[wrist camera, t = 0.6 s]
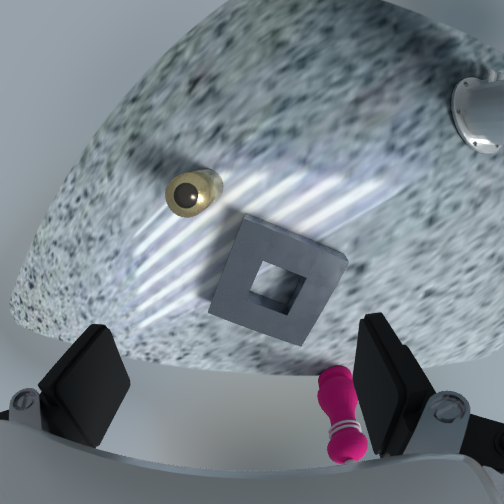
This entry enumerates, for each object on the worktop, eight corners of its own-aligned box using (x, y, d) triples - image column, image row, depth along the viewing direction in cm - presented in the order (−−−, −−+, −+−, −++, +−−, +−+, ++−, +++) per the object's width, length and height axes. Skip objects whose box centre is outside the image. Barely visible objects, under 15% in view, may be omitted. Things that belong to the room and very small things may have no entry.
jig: (246, 213, 39) (243, 218, 36) (344, 254, 40) (349, 261, 37) (211, 302, 44) (207, 312, 41) (299, 335, 45) (301, 346, 42)
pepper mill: (312, 368, 47) (322, 464, 28) (352, 359, 46) (377, 451, 27) (318, 394, 49) (327, 483, 30) (355, 385, 48) (375, 472, 29)
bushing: (195, 164, 37) (172, 167, 29) (228, 175, 38) (214, 182, 29) (184, 196, 39) (159, 208, 30) (216, 208, 39) (199, 224, 31)
